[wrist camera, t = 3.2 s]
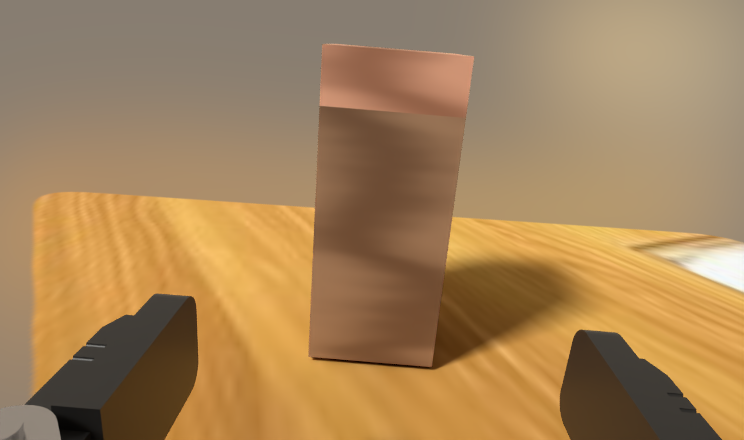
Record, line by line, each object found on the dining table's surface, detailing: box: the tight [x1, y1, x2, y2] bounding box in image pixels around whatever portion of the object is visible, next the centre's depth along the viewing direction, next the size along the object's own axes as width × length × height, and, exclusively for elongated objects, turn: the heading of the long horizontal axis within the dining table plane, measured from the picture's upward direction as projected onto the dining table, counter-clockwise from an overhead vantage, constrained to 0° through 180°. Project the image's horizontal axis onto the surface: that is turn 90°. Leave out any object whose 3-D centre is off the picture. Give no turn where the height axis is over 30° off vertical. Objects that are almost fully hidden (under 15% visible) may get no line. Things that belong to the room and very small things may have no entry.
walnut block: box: [309, 44, 474, 367], centre depth 21 cm, size 5×5×12 cm
